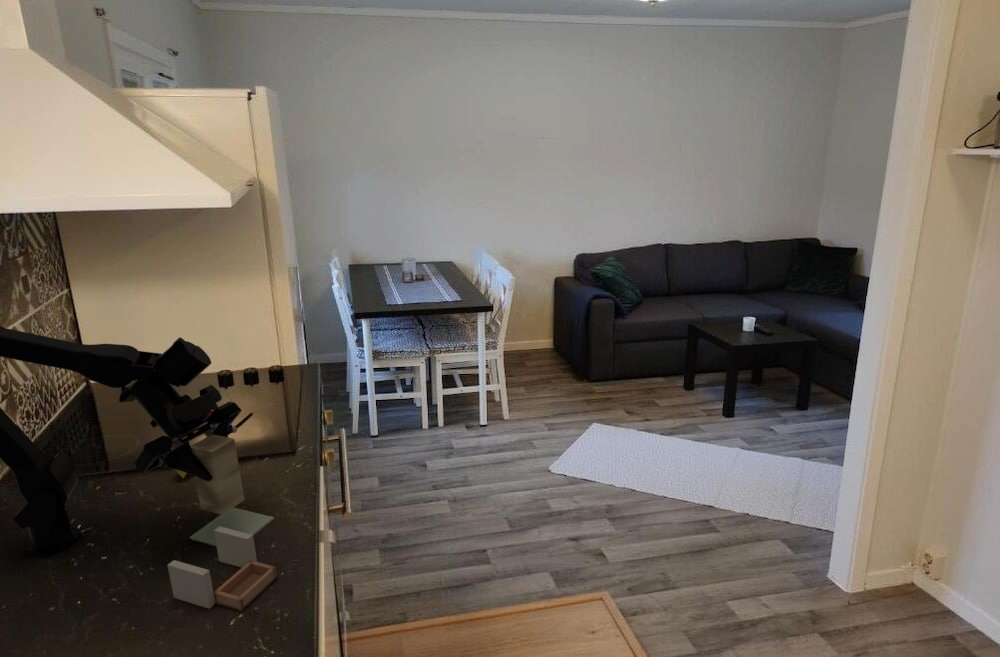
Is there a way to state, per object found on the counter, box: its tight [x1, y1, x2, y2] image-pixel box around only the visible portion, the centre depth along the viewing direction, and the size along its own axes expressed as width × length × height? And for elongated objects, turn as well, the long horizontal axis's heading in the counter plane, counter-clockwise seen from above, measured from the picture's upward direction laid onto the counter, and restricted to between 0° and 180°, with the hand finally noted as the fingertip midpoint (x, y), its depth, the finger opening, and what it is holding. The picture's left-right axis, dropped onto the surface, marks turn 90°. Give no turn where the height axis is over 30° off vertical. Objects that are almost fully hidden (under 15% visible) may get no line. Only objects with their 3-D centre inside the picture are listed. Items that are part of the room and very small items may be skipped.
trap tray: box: [213, 560, 278, 612], centre depth 97 cm, size 5×8×2 cm, turn 159°
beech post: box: [190, 434, 245, 515], centre depth 108 cm, size 5×5×12 cm
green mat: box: [189, 507, 275, 547], centre depth 113 cm, size 10×10×1 cm
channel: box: [167, 526, 258, 609], centre depth 99 cm, size 7×10×6 cm
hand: (223, 472), depth 107 cm, fingers closed on beech post, 5 cm apart
